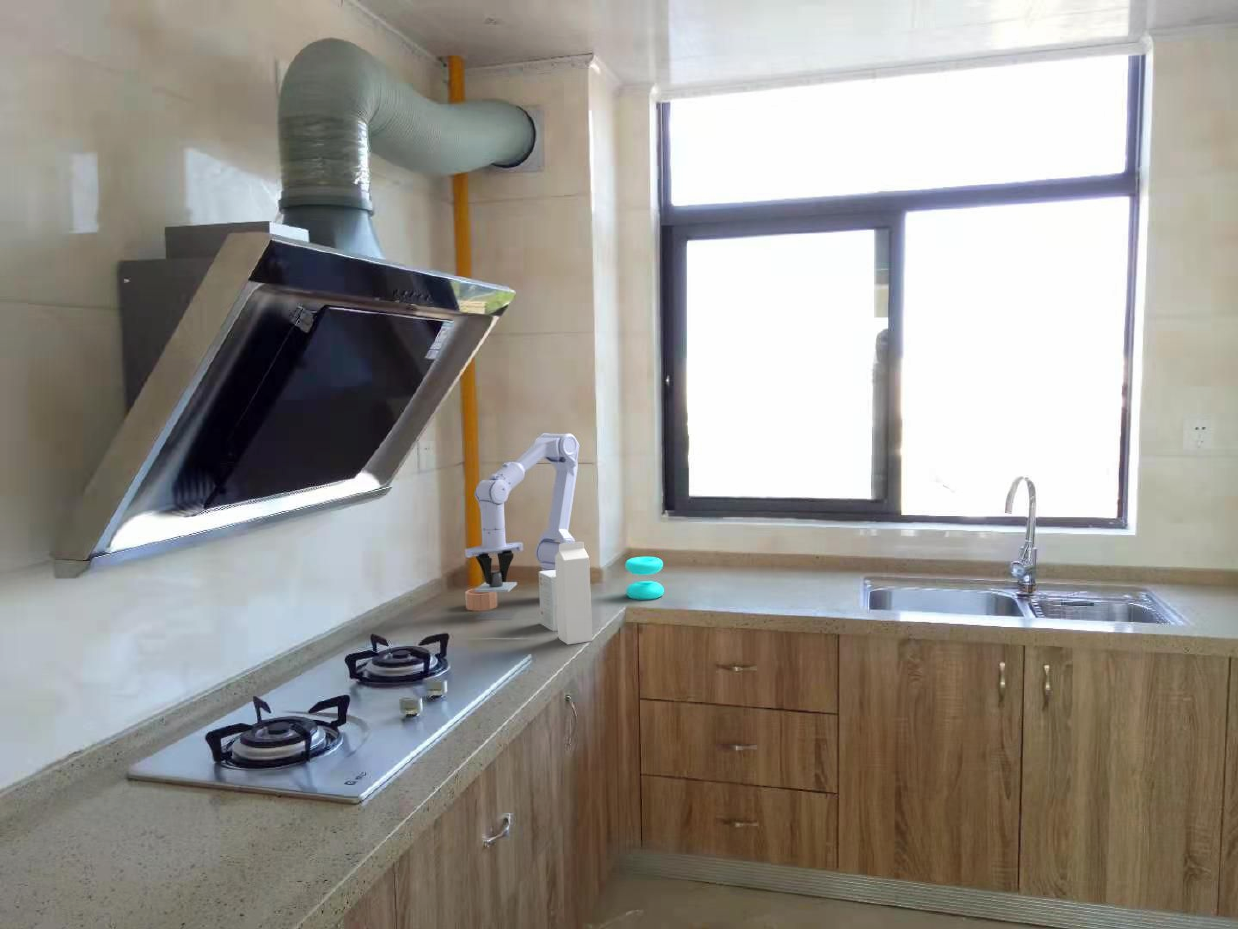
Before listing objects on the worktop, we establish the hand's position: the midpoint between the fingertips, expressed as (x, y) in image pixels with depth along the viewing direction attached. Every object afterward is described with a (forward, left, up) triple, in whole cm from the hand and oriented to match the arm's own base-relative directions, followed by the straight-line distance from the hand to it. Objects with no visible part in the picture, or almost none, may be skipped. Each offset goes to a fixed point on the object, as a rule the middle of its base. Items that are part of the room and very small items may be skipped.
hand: (495, 582), depth 235 cm
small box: (-17, +10, -9) cm, 22 cm away
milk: (-23, +21, -9) cm, 32 cm away
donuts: (-34, -21, -9) cm, 42 cm away
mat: (0, 0, -8) cm, 8 cm away
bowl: (+7, -8, -8) cm, 14 cm away
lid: (0, 0, -1) cm, 1 cm away
